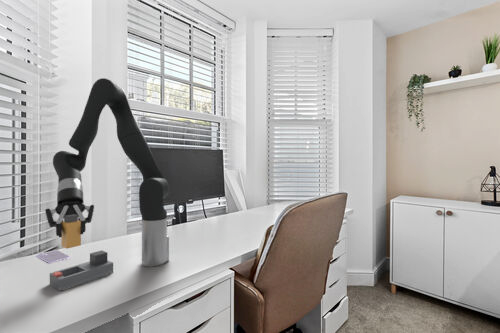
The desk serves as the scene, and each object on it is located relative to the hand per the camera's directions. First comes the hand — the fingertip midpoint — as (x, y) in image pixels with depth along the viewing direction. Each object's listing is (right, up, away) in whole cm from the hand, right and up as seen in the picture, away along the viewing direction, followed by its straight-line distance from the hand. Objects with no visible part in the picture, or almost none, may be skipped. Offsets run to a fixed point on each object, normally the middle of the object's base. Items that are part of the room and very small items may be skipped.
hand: (71, 234), depth 81 cm
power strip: (+1, -16, +4) cm, 16 cm away
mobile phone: (-24, -16, +24) cm, 38 cm away
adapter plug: (-1, -4, +1) cm, 5 cm away
